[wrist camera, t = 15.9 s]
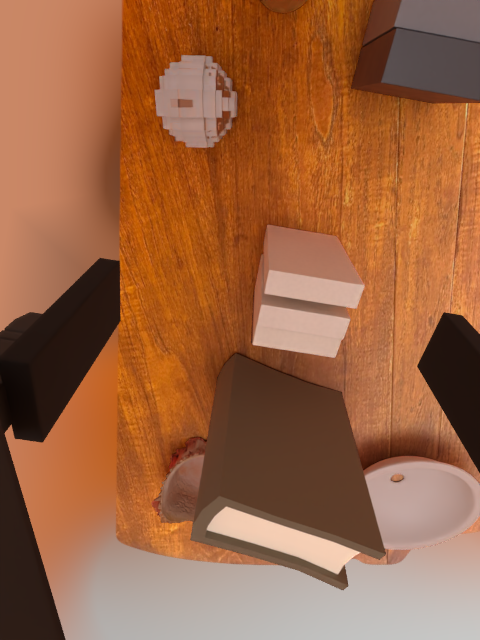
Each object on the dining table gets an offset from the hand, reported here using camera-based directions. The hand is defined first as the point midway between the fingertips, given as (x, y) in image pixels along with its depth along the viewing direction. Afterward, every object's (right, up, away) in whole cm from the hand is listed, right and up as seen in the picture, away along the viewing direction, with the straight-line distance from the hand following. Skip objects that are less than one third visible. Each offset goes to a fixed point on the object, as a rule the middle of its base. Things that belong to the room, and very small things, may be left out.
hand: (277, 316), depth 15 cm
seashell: (-8, -28, +55) cm, 63 cm away
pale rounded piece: (-6, +24, +26) cm, 35 cm away
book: (+4, -11, +45) cm, 47 cm away
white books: (+5, +5, +36) cm, 36 cm away
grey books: (+16, +28, +22) cm, 39 cm away
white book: (+6, +10, +33) cm, 35 cm away
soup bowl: (+28, -29, +54) cm, 67 cm away
